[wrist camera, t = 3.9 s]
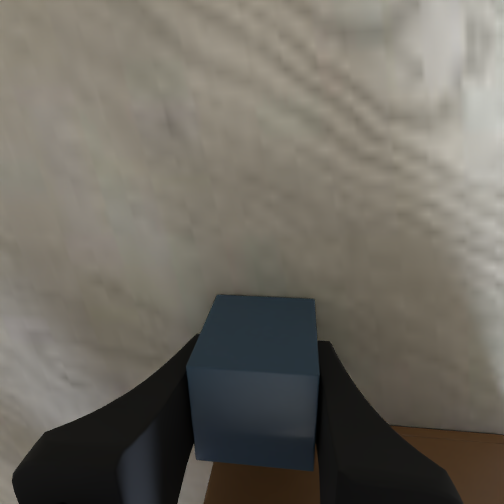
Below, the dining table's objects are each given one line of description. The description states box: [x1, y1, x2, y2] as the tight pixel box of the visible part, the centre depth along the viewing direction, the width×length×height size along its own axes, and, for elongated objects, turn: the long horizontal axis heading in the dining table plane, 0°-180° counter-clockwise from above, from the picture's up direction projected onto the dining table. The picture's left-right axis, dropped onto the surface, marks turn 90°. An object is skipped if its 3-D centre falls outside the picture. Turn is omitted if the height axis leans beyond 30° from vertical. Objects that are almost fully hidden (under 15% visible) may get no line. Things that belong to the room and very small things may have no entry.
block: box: [186, 295, 320, 471], centre depth 14 cm, size 4×4×4 cm
